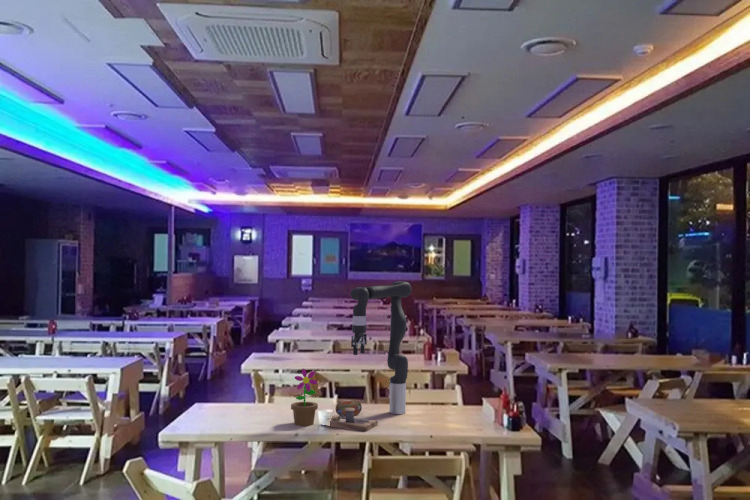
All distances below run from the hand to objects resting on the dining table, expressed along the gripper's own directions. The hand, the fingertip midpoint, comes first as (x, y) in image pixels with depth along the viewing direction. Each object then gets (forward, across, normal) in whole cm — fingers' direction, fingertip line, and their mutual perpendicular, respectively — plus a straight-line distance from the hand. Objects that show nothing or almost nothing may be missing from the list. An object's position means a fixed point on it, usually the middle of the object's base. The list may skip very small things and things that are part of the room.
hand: (358, 353), depth 358 cm
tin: (+36, +8, +10) cm, 39 cm away
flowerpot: (+36, -20, +22) cm, 47 cm away
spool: (+36, -12, -1) cm, 38 cm away
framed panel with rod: (+36, -12, -1) cm, 38 cm away
